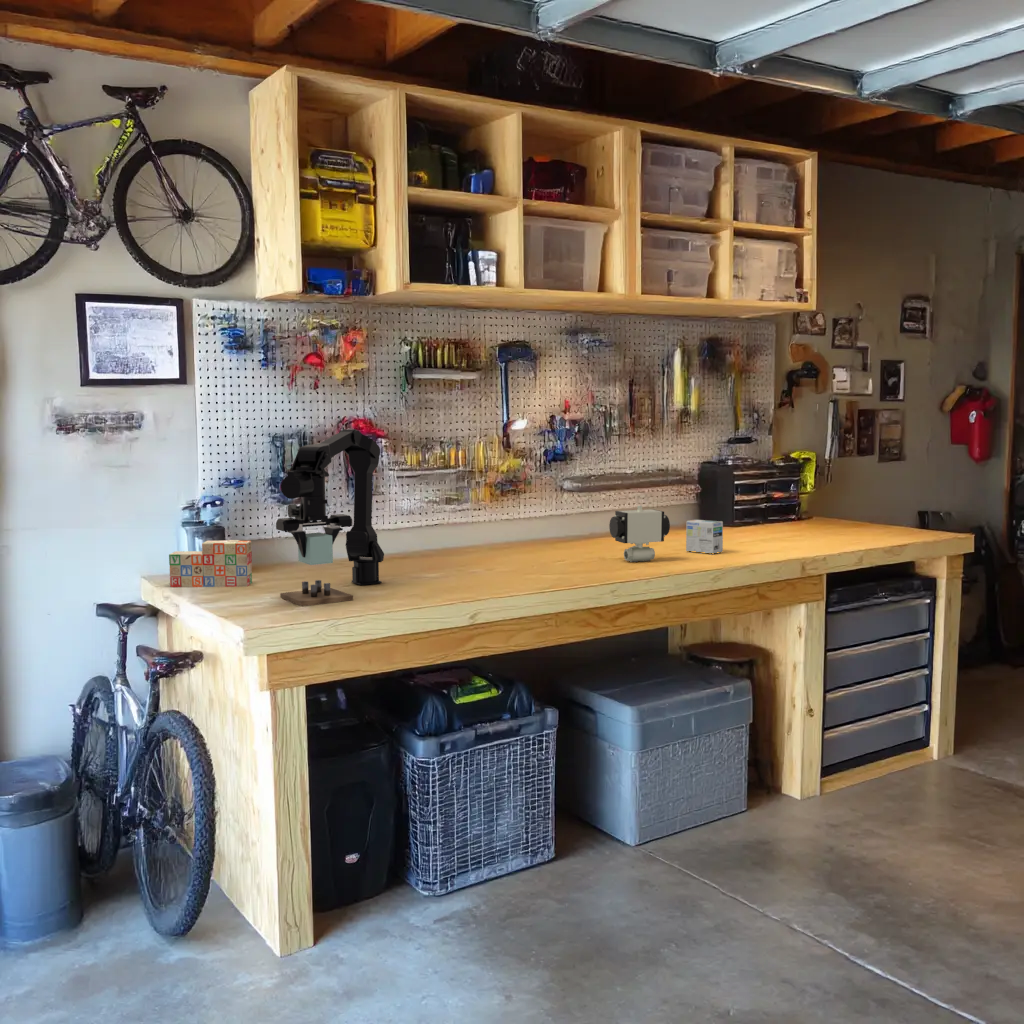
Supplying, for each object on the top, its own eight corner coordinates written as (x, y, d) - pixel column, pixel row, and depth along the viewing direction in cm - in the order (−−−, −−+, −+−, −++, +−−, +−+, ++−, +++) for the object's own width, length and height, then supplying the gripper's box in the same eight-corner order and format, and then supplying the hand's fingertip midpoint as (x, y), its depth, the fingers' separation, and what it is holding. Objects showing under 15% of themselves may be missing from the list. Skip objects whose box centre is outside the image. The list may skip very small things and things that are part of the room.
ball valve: (657, 557, 330) (658, 503, 328) (669, 561, 322) (670, 505, 320) (607, 560, 324) (607, 505, 322) (618, 564, 316) (618, 507, 314)
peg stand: (330, 592, 270) (330, 576, 270) (353, 600, 259) (352, 583, 258) (280, 597, 263) (279, 581, 262) (301, 606, 251) (300, 589, 251)
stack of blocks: (169, 587, 279) (167, 543, 278) (176, 583, 285) (174, 540, 284) (248, 586, 280) (246, 542, 278) (252, 583, 286) (251, 539, 285)
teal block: (320, 559, 265) (319, 532, 264) (332, 562, 258) (332, 535, 257) (298, 561, 261) (297, 534, 261) (310, 565, 255) (310, 537, 254)
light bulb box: (723, 552, 341) (723, 521, 340) (713, 555, 336) (713, 522, 335) (695, 550, 348) (695, 518, 347) (685, 552, 343) (685, 520, 342)
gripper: (334, 491, 270) (336, 549, 272) (267, 495, 259) (269, 555, 261) (352, 494, 261) (354, 554, 262) (283, 498, 250) (285, 560, 252)
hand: (315, 556), depth 260 cm, fingers closed on teal block, 6 cm apart
